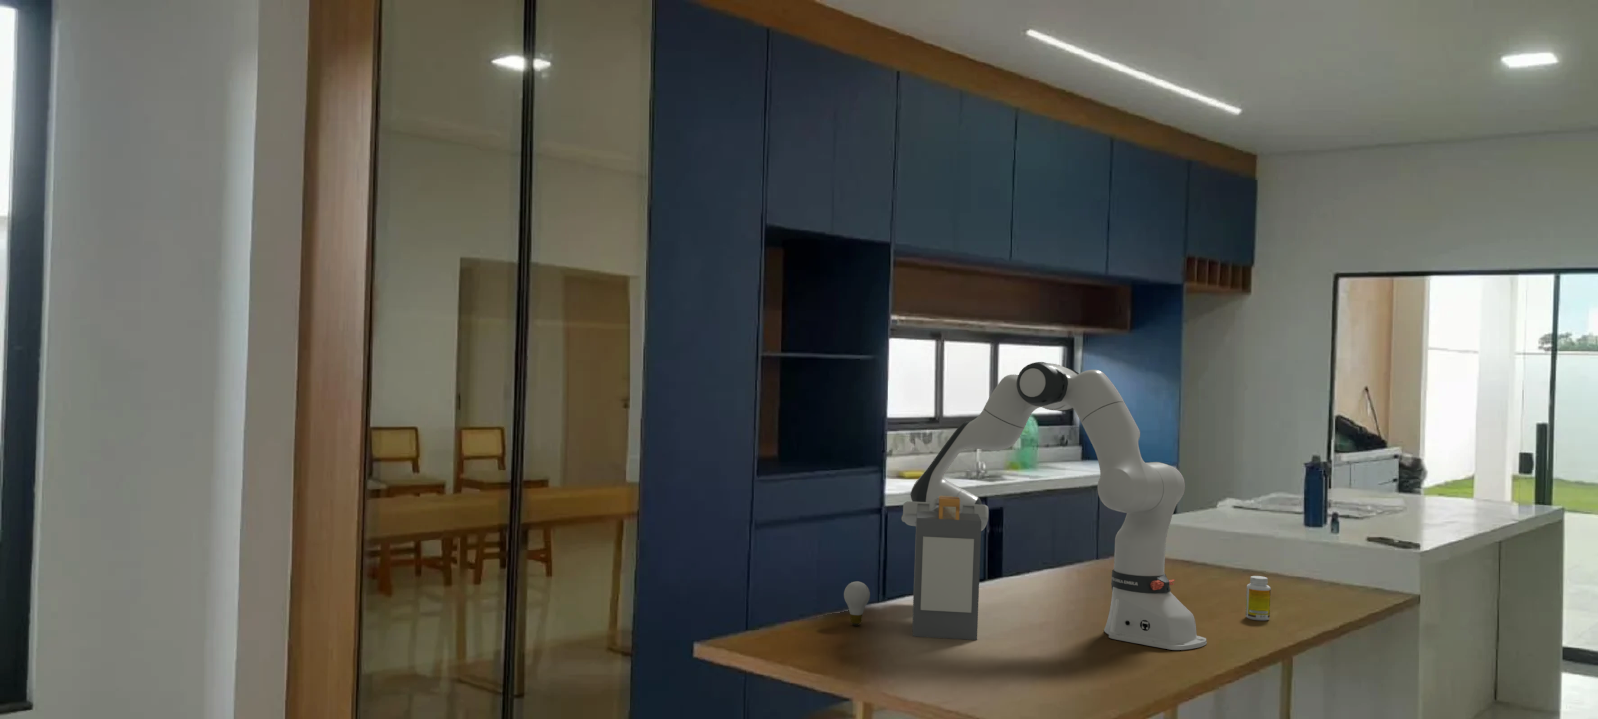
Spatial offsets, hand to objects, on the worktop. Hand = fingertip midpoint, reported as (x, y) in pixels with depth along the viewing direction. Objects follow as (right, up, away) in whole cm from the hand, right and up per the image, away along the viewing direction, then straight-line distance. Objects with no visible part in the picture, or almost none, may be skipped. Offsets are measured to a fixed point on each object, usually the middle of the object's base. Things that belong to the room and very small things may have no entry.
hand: (946, 501), depth 280 cm
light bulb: (-22, -27, -8) cm, 36 cm away
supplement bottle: (+78, -31, +15) cm, 86 cm away
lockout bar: (-1, -2, -7) cm, 7 cm away
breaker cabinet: (-2, -28, -12) cm, 30 cm away
